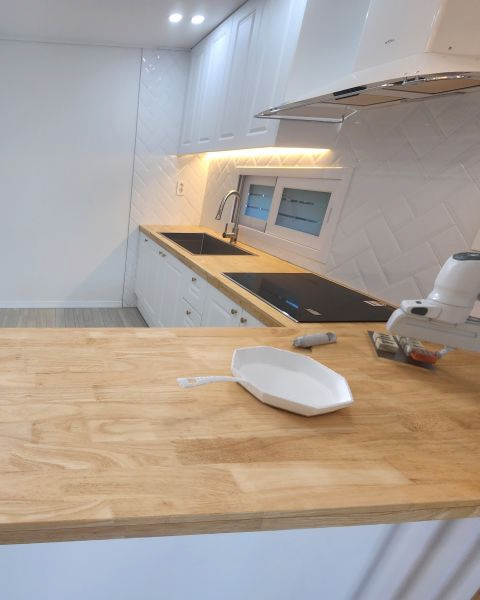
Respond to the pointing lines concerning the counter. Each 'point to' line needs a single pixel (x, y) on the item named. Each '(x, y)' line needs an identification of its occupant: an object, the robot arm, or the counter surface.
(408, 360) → the letter board
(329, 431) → the counter surface
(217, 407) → the counter surface
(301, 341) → the torpedo
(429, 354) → the s tile
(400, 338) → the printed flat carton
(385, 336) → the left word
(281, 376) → the pan
